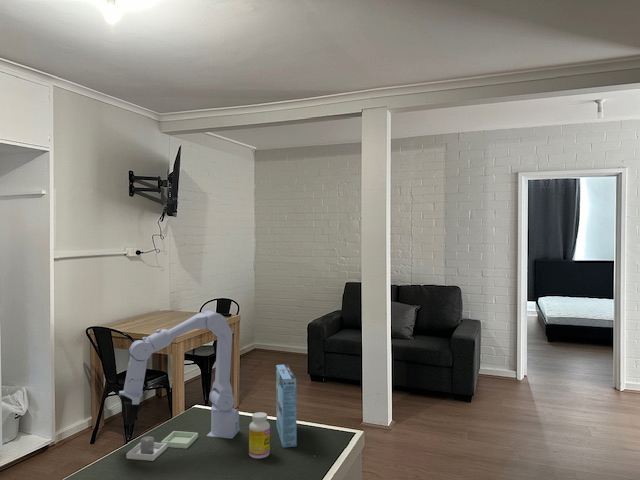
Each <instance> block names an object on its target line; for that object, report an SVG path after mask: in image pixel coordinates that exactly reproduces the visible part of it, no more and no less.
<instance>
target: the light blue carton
mask: <svg viewBox="0 0 640 480" xmlns="http://www.w3.org/2000/svg"><path fill="white" fill-rule="evenodd" d="M275 367H276V368H275V369H276V370H275V372H276V377H275V378H276V382H275V383H276V384H275V385H276V389H275V390H276V393H275V394H276V397H275V398H276V430H277V433H278V436H279V439H280V443H281V446H282V448H292V447H297V431H298V430H297V429H298V428H297V378H296V376H295V375H294V372H293V371H292V369H291V368H290V365H289V364H277V365H275Z"/></svg>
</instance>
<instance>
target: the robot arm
mask: <svg viewBox="0 0 640 480" xmlns="http://www.w3.org/2000/svg"><path fill="white" fill-rule="evenodd" d="M195 329H197V330H209V331H211V332H212V333H213V334H214V335H215V336H216V337H217V340H216V355H215V356H216V358H215V375H214V376H215V378H214V381H213V383H212V388H211V390H210V392H209V398H208V399H209V401H210V402H211V403H212V404H211V409H210V412H211V415H210V416H211V417H210V420H211V421H210V422H211V423H210V425H211V429H210V432H209V433H208V434H206V437H208V438H210V437H211V438H224V439H234V438H235V436H236V435H237V434H238V433H239V432H240V411H239V409H236V408H233V406H234V405H235V397H234V395H233V386H232V384H231V370H232V369H231V368H232V367H231V366H232V365H231V364H232V350H233V349H232V347H233V345H232V344H233V331H232V328H231V327H230V325H229V322H228V321H227V318H226V317H224V315H222V314H221V313H217V312H214V311H213V310H210V309H206V310H204V311H202V312H199V313H198V312H197V313H196V314H195V315H193V316H191V317H190V318H188V319H186V320H184V321H182V322H181V323H178V324H177V325H175V326H173V327H172V328H170V329H165V328H162V329H160V328H158V329H156V330H155V332H154V333H151V334H150V335H148V336H143V337H142V340H140V339H139V340H137V339H136V340H135V341H133V342H132V343H131V345H130V347H129V348H128V353H129V354H130V355H129V361H128V363H127V368H126V374H125V375H126V376H125V381H124V385H123V390H119V391H118V393H119V394H118V395H119V397H120V404H121V417H122V418H125V425H126V426H133V425H134V424H135V422H136V418H137V417H138V415H139V413H140V411H141V409H142V408H143V407H144V403H143V402H140V401H141V397H142V396H143V389H144V383H145V377H146V372H147V366H148V364H147V363H148V359H150V357H151V356H152V354H155V353H156V352H159V351H160V350H162V349H164V348H166V347H168V346H170V345H172V342H173V340H174V339H176V338H178V337H180V336H182V335H184V334H186V333H188V332H190V331H193V330H195Z"/></svg>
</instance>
